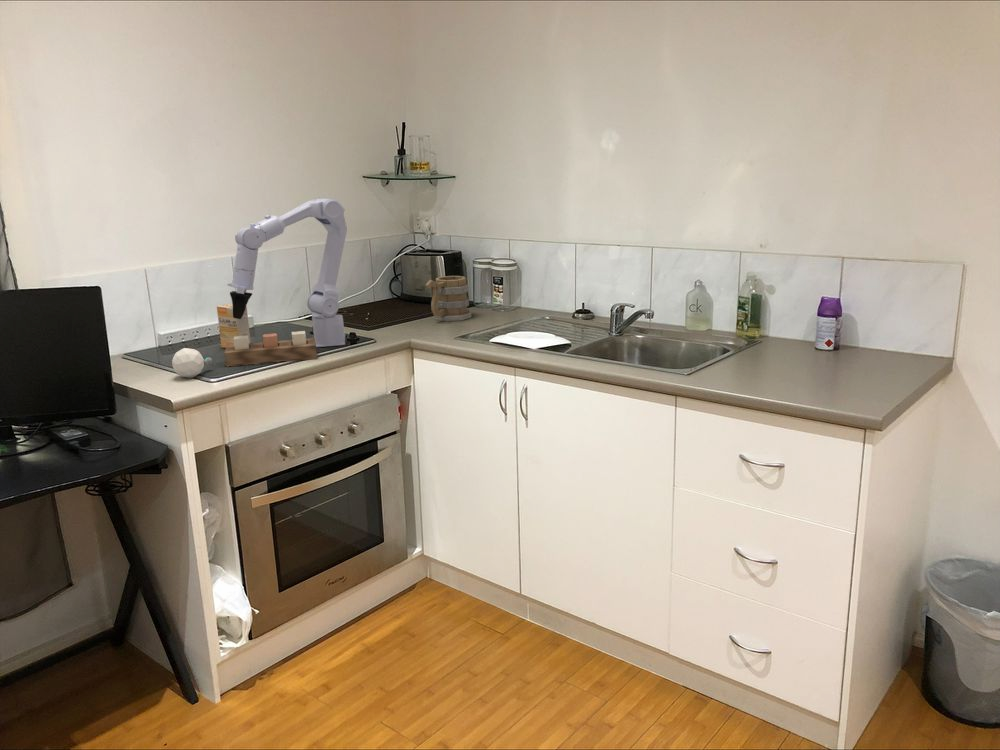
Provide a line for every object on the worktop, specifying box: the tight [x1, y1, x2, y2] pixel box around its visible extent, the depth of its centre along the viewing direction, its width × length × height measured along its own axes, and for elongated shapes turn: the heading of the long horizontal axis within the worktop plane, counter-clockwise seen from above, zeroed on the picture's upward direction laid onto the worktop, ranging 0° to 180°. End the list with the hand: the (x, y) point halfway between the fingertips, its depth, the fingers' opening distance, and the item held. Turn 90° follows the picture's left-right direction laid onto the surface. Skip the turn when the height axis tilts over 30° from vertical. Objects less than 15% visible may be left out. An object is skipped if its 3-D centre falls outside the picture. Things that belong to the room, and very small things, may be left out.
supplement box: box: [216, 303, 251, 349], centre depth 247 cm, size 8×5×13 cm, turn 62°
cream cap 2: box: [291, 330, 307, 345], centre depth 234 cm, size 4×4×4 cm
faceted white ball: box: [171, 347, 213, 379], centre depth 218 cm, size 8×8×12 cm
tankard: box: [425, 275, 472, 322], centre depth 279 cm, size 20×13×15 cm, turn 144°
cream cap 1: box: [234, 336, 249, 350], centre depth 231 cm, size 4×4×4 cm
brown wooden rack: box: [224, 337, 318, 368], centre depth 233 cm, size 25×10×4 cm, turn 104°
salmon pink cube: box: [262, 332, 279, 348], centre depth 233 cm, size 4×4×4 cm
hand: (237, 317), depth 231 cm, fingers open, 7 cm apart
